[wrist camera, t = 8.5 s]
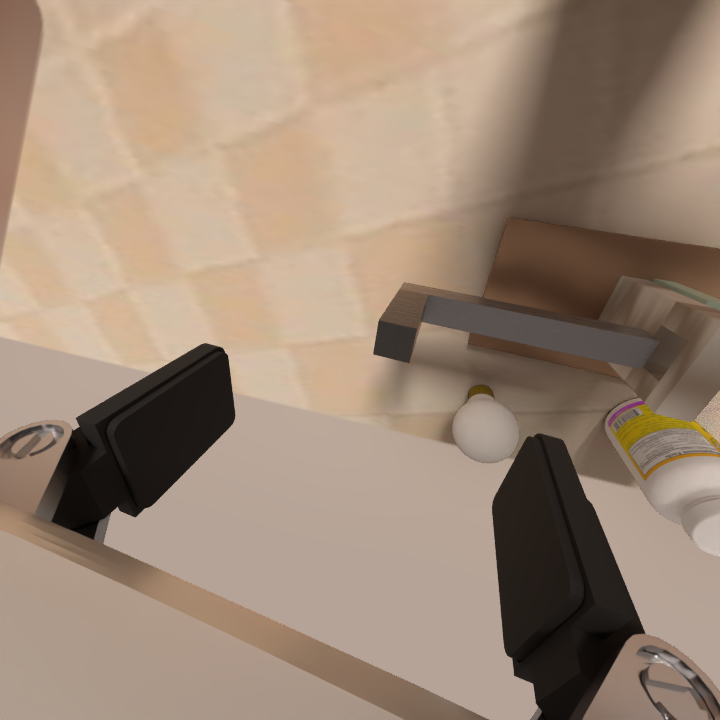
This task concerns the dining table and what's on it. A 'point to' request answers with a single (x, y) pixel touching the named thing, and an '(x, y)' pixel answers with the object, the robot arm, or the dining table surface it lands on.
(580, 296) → the stand
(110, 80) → the dining table surface
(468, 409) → the light bulb
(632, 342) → the dark grey bent bar
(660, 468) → the supplement bottle
